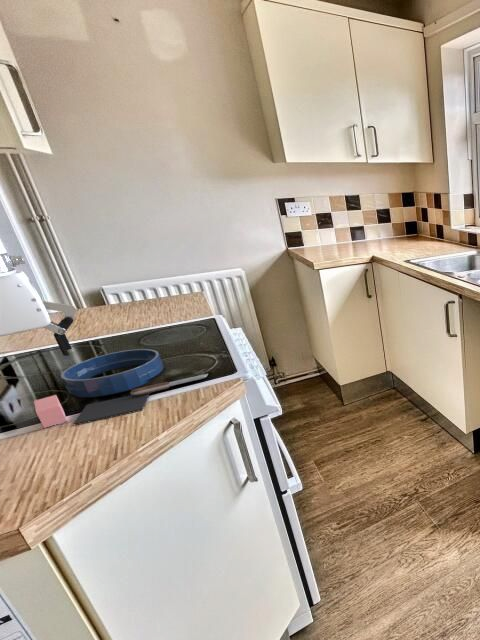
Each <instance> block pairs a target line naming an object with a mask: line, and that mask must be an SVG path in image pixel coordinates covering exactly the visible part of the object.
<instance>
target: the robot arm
mask: <svg viewBox="0 0 480 640" xmlns="http://www.w3.org/2000/svg"><path fill="white" fill-rule="evenodd" d="M24 264H26V261H25V260H24V257H23V255H12V254H8V252H7V250H6V247H5V245H4V243H3V241H2V239H1V238H0V337H5V336H11V335H16V334H20V333H25V332H30V331H35V330H40V329H45V330H47V331H50V332H52V333H53V337H54V339H55V341H56V343H57V345H58V347H59V349H60V351H61V353H62V355H63V356H65V357H67V356H70V354H69V352H68V350H72V349H73V348H72V346H71V344H70V342H69V340H68V337H67V335H66V333H67V331H68V329H69V328H70V327H71V325H72V324H73V323H74V319H75V317H76V316H75V315H76V311H77V308H76V307H75V305H71V304H65V303H58V302H52V301H47V300H45V301H44V300H43V299H42V297H41V295H40V294H39V292H38V291H37V289H36V287H35V286H34V284H33V283H32V281H31V280H30V278H29V277H28V275H27V274H26V273H25V272H24V271H23V270H16V268H17V266H20V265H24ZM49 310H50V311H55V312H56V311H57V312H61V313H63V318H62V319H61V320H60V322H58V323H57V322H55V321H52V319H51V316H50V313H49Z"/></svg>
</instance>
